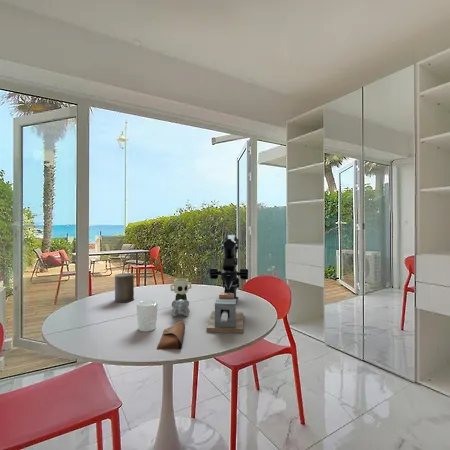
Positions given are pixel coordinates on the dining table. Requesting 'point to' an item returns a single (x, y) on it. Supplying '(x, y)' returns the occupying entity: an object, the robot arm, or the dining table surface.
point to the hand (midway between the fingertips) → (228, 289)
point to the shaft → (225, 312)
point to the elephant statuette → (180, 307)
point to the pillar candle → (124, 287)
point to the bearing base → (226, 329)
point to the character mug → (181, 288)
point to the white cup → (147, 315)
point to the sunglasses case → (172, 337)
